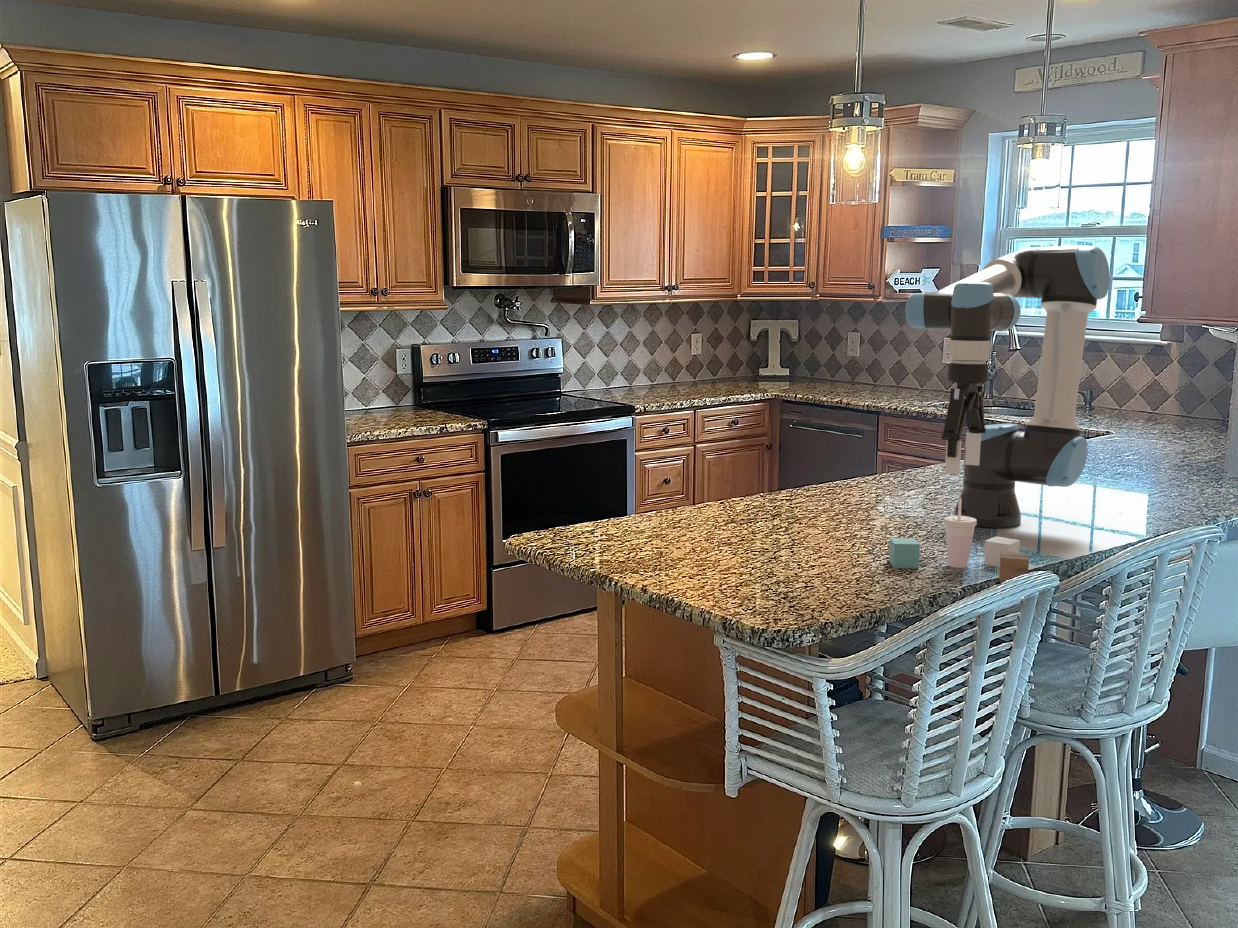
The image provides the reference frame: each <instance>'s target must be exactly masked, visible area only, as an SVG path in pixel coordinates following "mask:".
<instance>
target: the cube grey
mask: <svg viewBox="0 0 1238 928" xmlns="http://www.w3.org/2000/svg"><path fill="white" fill-rule="evenodd" d="M1020 543H1021V539H1014V538H1010V537H1009V538H1008V537H1002V536H993V537H991V538H989V539H986V540H985V541H984V556H983V557H984V560H983V561H984V563H983V565H986V566H992V567H997V568H1000V553H1001V551H1002V552H1017V553H1020V546H1021V544H1020Z"/></svg>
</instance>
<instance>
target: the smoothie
mask: <svg viewBox="0 0 1238 928" xmlns="http://www.w3.org/2000/svg"><path fill="white" fill-rule="evenodd" d="M958 499H959V505H958V516H954V515H948V516H945V517H943V524H944V525H945V538H946V551H947V564H948V566H949V567H950V568H957V569H965V568H968V565H969V560H970V555H971V550H972V543H973V538H974V533H975V527H977V526H976V525H977V520H976V519H975V518H972V517H968V516H961V503H962V498H958Z"/></svg>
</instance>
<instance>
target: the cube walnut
mask: <svg viewBox="0 0 1238 928" xmlns="http://www.w3.org/2000/svg"><path fill="white" fill-rule="evenodd" d="M1029 567H1030V557H1029V552H1028V553H1026V552H1019V553H1017V552H1002V551H1001V553H1000V567H999V573H998V574H999V576H998V578H999V583H1000V584H1001V582H1005V581H1006V580H1009V579H1010V578H1015V577H1018V576H1020V575H1022V574H1028V575H1029V569H1030V568H1029Z"/></svg>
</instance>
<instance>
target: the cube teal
mask: <svg viewBox="0 0 1238 928" xmlns="http://www.w3.org/2000/svg"><path fill="white" fill-rule="evenodd" d="M920 550H921V543H919V541H918V540H917V539H916V538H915V537H910V538H909V537H902V538H901V537H890V538H889V552H888V562H889V563H890V565H891V566H892V568H894V569H919V568H920Z"/></svg>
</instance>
